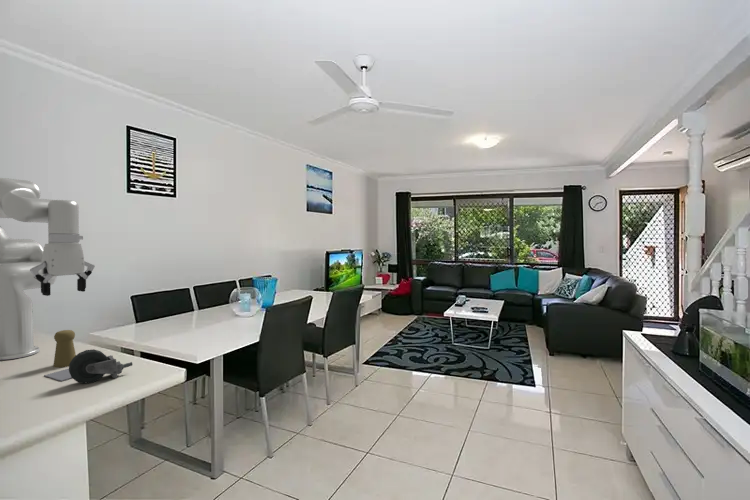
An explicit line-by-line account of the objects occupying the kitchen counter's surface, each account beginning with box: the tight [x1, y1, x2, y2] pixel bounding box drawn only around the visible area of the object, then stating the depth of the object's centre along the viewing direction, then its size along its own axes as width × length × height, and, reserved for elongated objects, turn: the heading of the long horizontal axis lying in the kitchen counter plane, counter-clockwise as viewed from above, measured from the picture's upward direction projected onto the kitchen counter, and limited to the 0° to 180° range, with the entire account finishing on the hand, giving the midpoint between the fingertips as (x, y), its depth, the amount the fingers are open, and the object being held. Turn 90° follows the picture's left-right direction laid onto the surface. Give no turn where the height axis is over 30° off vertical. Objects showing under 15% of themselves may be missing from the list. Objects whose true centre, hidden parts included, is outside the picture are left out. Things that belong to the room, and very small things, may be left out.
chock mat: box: [43, 368, 73, 382], centre depth 118 cm, size 9×11×1 cm
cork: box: [52, 329, 77, 369], centre depth 125 cm, size 6×6×11 cm
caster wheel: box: [68, 349, 133, 384], centre depth 113 cm, size 6×10×15 cm
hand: (64, 293), depth 124 cm, fingers open, 9 cm apart
